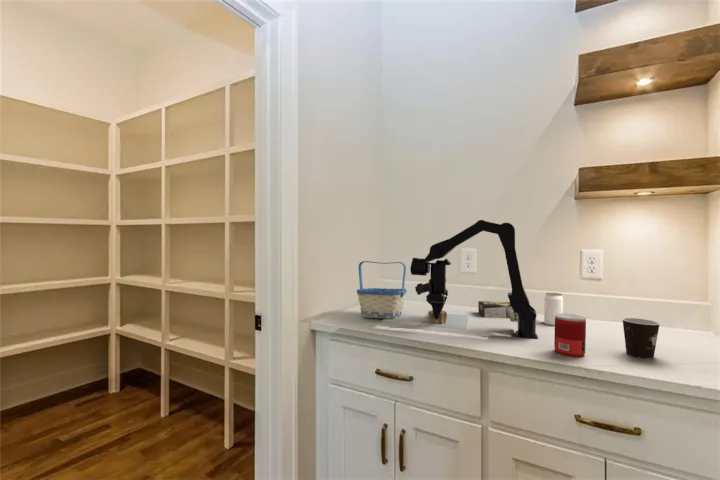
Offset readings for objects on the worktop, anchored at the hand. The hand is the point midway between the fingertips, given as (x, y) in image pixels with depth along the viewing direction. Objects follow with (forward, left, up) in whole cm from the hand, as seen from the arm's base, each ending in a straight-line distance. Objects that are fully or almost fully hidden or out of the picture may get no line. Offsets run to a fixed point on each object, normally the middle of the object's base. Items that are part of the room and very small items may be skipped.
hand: (437, 317), depth 138 cm
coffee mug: (-14, -59, -3) cm, 61 cm away
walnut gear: (+8, +1, -2) cm, 8 cm away
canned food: (-19, -41, -4) cm, 45 cm away
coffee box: (+25, -31, 0) cm, 40 cm away
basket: (+5, +24, -4) cm, 25 cm away
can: (+19, -43, -3) cm, 47 cm away
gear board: (+5, -2, -3) cm, 7 cm away
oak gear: (0, 0, -2) cm, 2 cm away
